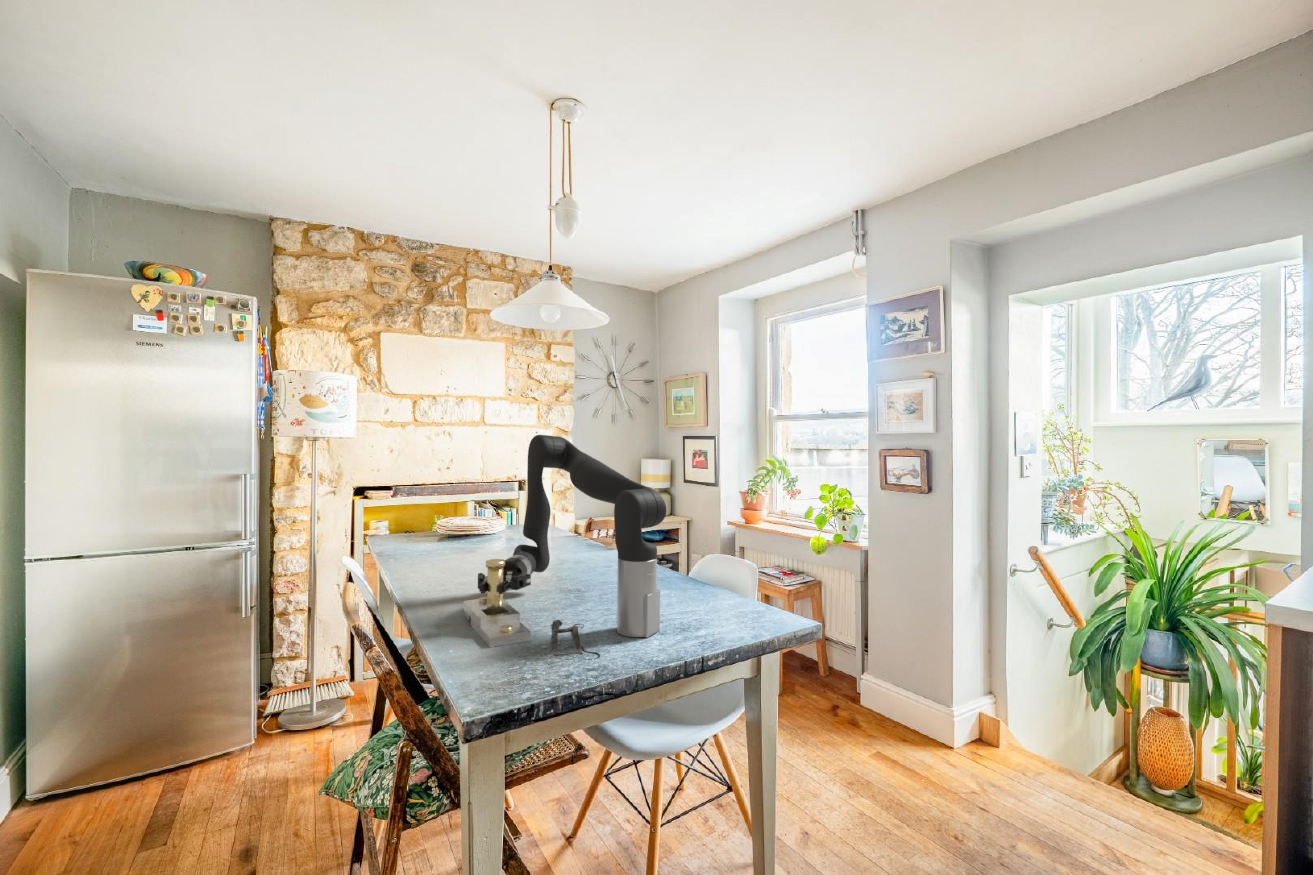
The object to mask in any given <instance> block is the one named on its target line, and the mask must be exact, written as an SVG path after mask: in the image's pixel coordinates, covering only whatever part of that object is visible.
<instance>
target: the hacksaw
mask: <svg viewBox="0 0 1313 875" xmlns="http://www.w3.org/2000/svg"><path fill="white" fill-rule="evenodd" d="M552 625H553V630H552V631H553V632H552V638H551V640H552V641H551V651H556V650H558V640H559V639H558V638H559V637H558V635H559V633H561V632H562V633H565V632H570V631H572V635H573V643H574V647H575V649H576V651H572V652H571V651H570V652H565V653H553V656H554V657H561V656H568V655H580V656H583V655H584V653H587V654H594V655H597V657H594V658H585V657H583V659H585V660H587V659H588V660H589V661H592V659H594V660H597V659H600V657H601V653H598V652H596V651H587V650H585V649H584V646H583V645H581V644H580V636H579V627H577V626H580V625H582V627H581V629H583V628H584V627H585V625H584V624H583V623H574V624H573V625H572V626H570V627H567V628H560V627H561V626H562V625H563V622H562V621H561V620H560V619H557V620H556V619H555V620H553V621H552ZM577 651H578V652H577ZM590 659H591V660H590Z"/></svg>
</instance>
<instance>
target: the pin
mask: <svg viewBox="0 0 1313 875" xmlns="http://www.w3.org/2000/svg"><path fill="white" fill-rule="evenodd" d="M505 560H506V559H504V558H503V559H501V558H493V559H487V560H485V568H486V569H487V572H486V573H487V575H486V576H487V592H486V594H487V595H486V597H487V616H488V615H495V614H501V613H503V600H504V593H503V594H499V584H501V583H502V582H503V567H504V566H505Z"/></svg>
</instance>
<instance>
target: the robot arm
mask: <svg viewBox="0 0 1313 875" xmlns="http://www.w3.org/2000/svg"><path fill="white" fill-rule="evenodd" d="M544 468H548V469H560V470H563V471H565V472H567V473H568V474H569V479H570V481H571V484H572V485H573V486H574V487H575V488H576V489H577V490H579V491H580V492H581V493H583V494H584V495H586V496H588V497H590V498H592V499H594V500H598V501H601V502H605V503H610V504H612V505H614V507H613V516H614V541H615V547H616V550H617V579H616V580H617V582H616V583H617V587H616V588H617V589H616V590H617V591H616V592H617V593H616V594H617V595H616V599H617V600H616V632H617V633H618V634H619V635H621V636H625V637H630V638H631V637H632V638H649V637H651V636H652V635H654V634H655V633H657V632H659V631H660V628H661V627H660V626H661V624H660V623H661V622H660V621H661V591H660V589H657V588H658V586H657V585H658V584H657V580H658V579H657V578H658V572H657V571H658V548H657V545H656V544H654V543H651V542H648V541H645V540H644V538H643V532H642V529H649V528H652V527H655V526H658V525H660V524H661V523H662V522H663V521H664V519H665V518H666V516H667V505H666V502H665V500H664V497H662V495H661V494H660V493H659V491H656V490H655V489H653V488H650V487H648V486H646V485H643V484H641V483H638V482H637V481H633V480H631V479H630V478H628V477H626V476H624V475H623V474H621V473H620V472H618V471H616V470H615V469H613V468H611V467H610V466H608V465H606V464H605V463H604V462H602V461H600V460H598V459H596V458H595V457H592V456H591V455H589V454H587V453H585V452H583V451H581V450H580V449H579V448H578V447H577V446H575V445H574V444H573V443H571V442H570V441H569V440H568V439H566V438H564V437H562V436H558V435H547V434H537V435H535V436H533V437H532V438H531V440H530V441H529V445H528V450H527V477H526V478H527V484H526V485H527V492H526V494H527V498H526V500H527V501H526V509H525V514H524V515H525V516H524V520H523V522H524V523H523V526H522V528H523V529H522V535H523V536H524V537H525V538H526V539H529V540H530V541H533V542H534V543H535V545H536V546H535V545H529V544H519V545H517V546H516V547H515V548H514V551H513V553H512V555H511V556H509V557H508V558H506V559H504V560H505V566H504V567H503V582H502V583H501V584H499V594H503V595H504V593H506V592H508V591H519V590H521V589H524V588H526V587H529V586H531V584H532V583H531V581H532V574H533V573H534V572H535V573H543V572H545V571H546V570H547V568H548V567H549V565H550V550H549V541H548V540H549V538H548V534H549V533H548V532H549V527H550V520H551V506H550V505H551V504H550V501H549V498H548V497H547V496H548V495H547V494H546V490H545V488H544V484H543V472H544ZM477 590H478V592H480V594H485V593H487V575H486V574H485V573H482V572H479V573H477Z"/></svg>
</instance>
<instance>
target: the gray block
mask: <svg viewBox="0 0 1313 875" xmlns="http://www.w3.org/2000/svg"><path fill="white" fill-rule="evenodd" d="M462 610H464V617H465V619H467V621H468V622H470V627H471V626H472V627H471V628H472V629H473V630H474V631H475V633H476V634H477V635H478V636H479V637H480V638H481V639H482V640H483V641H484V642H485V644H486V645H487V646H488V647H489V648H494V647H495V646H496V647H501V646H505V645H512V644H518V643H523V642H528V641H529V642H530V641H531V630H530V629H529V628H528V627H527V626H525V625H524V624H523V623H522V622H521V620H520V619H521V618H520V617H521V613H520V612H519V611H517V610H516V609H515V608H514V607H513V606H512V605H510V604H509V603H508V602H507V601H505V600H504V599H503V613H501V614H495V615H488V616H487V596H481V597H479V598H475V599H469V600H463V602H462ZM496 647H495V648H496Z"/></svg>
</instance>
